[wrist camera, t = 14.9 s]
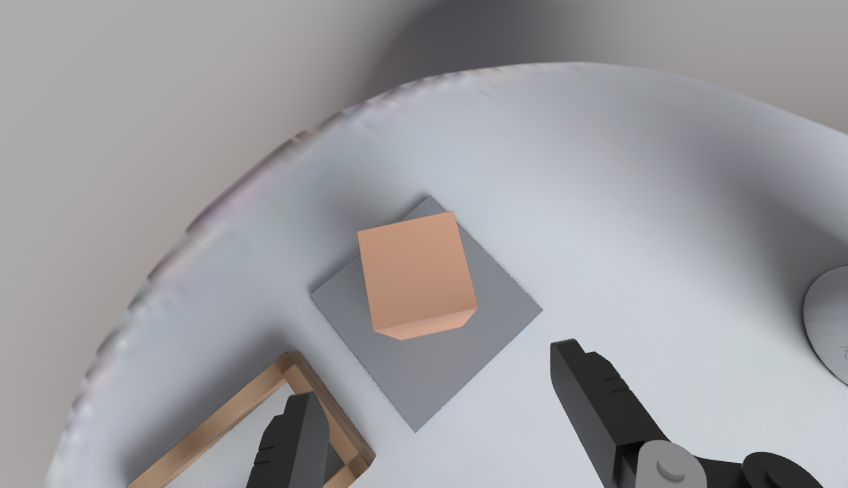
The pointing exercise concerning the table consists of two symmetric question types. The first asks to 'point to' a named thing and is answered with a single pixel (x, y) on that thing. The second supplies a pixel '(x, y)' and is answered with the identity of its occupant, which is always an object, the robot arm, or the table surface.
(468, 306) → the terracotta block
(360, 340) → the slate mat
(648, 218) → the table surface
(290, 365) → the walnut cradle
